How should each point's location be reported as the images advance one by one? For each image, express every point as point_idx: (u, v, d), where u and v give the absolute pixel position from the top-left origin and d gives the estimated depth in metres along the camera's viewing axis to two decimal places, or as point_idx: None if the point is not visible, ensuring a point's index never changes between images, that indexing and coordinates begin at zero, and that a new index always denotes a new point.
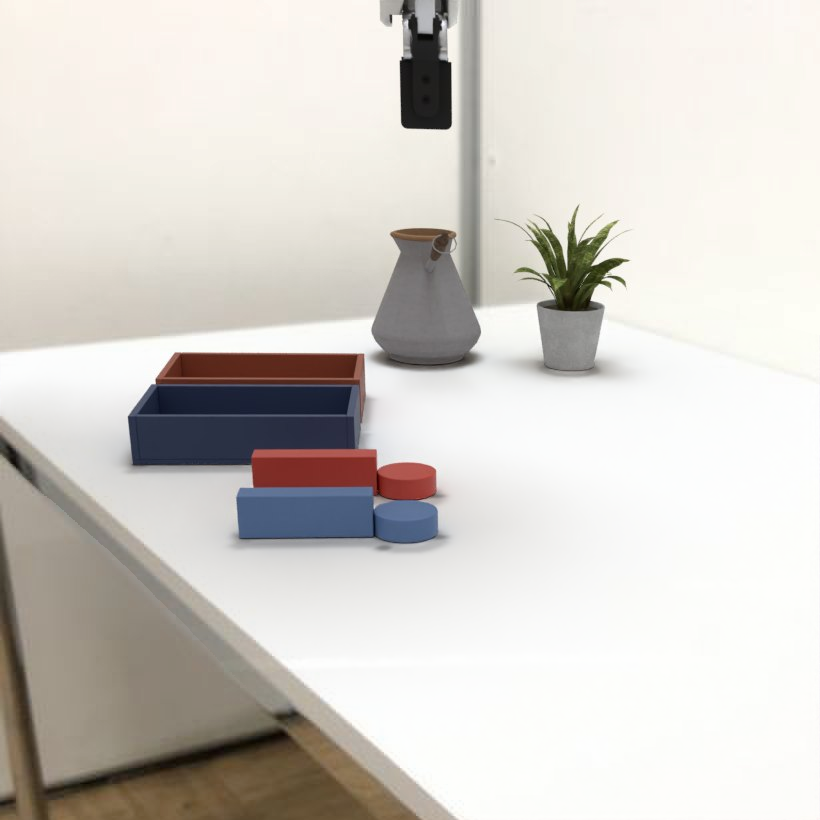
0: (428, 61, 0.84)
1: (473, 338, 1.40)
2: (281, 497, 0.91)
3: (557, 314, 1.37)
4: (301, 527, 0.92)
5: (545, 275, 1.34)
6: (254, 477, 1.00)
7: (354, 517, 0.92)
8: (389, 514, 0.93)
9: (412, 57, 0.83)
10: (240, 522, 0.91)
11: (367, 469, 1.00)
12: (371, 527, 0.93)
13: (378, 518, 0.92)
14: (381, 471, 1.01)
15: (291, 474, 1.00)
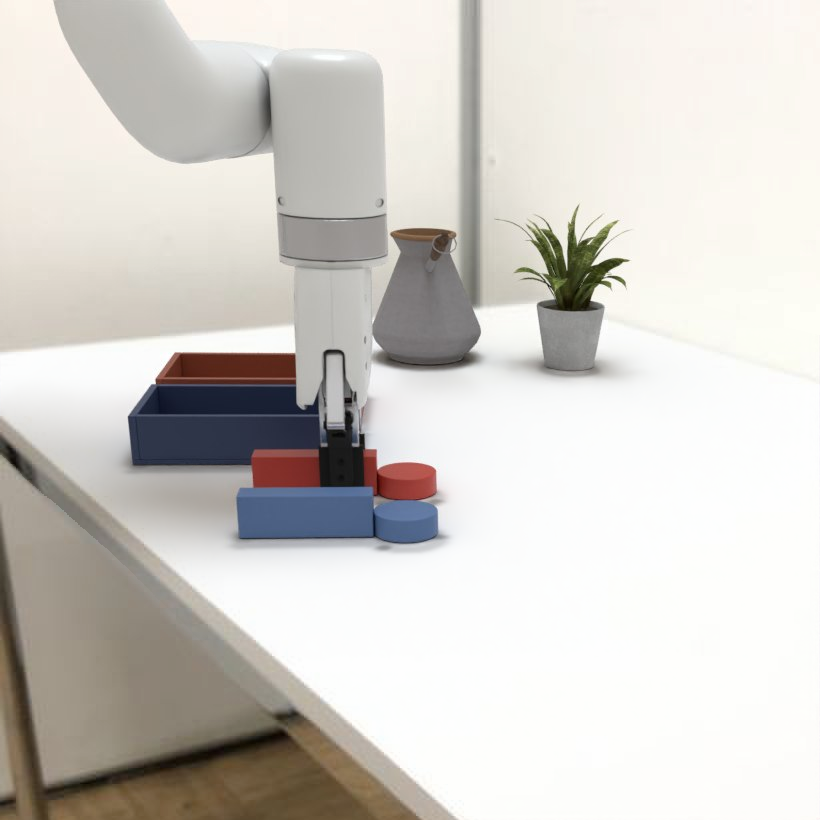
0: (342, 448, 0.98)
1: (473, 338, 1.40)
2: (281, 497, 0.91)
3: (557, 314, 1.37)
4: (301, 527, 0.92)
5: (545, 275, 1.34)
6: (254, 477, 1.00)
7: (354, 517, 0.92)
8: (389, 514, 0.93)
9: (328, 446, 0.98)
10: (240, 522, 0.91)
11: (367, 469, 1.00)
12: (371, 527, 0.93)
13: (378, 518, 0.92)
14: (381, 471, 1.01)
15: (291, 474, 1.00)
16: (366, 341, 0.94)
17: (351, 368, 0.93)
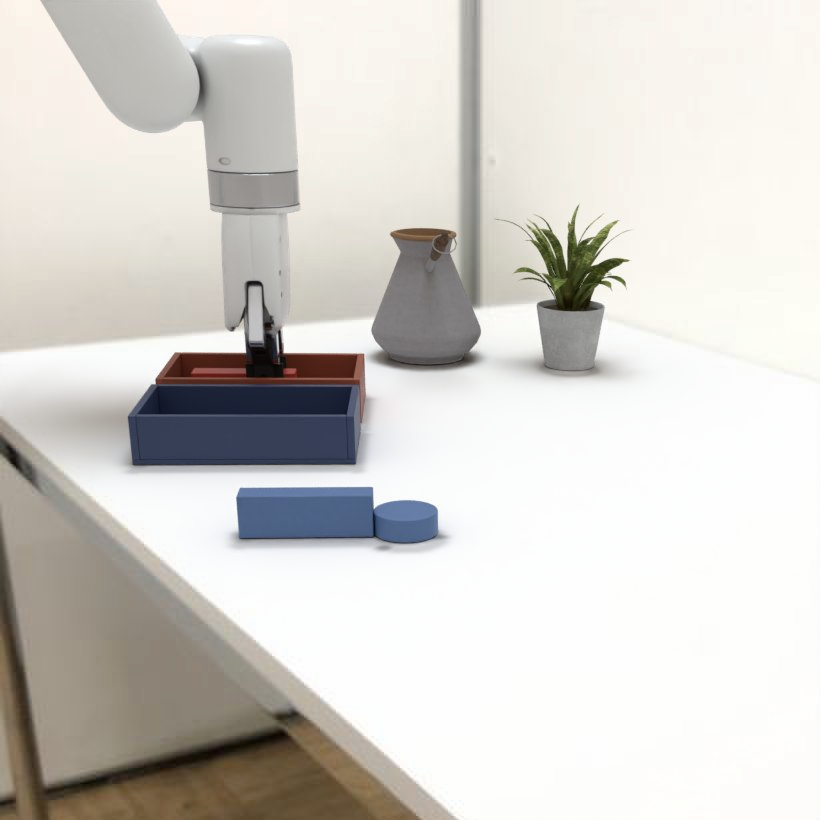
0: (265, 365, 1.19)
1: (473, 338, 1.40)
2: (281, 497, 0.91)
3: (557, 314, 1.37)
4: (301, 527, 0.92)
5: (545, 275, 1.34)
6: None
7: (354, 517, 0.92)
8: (389, 514, 0.93)
9: (253, 363, 1.19)
10: (240, 522, 0.91)
11: None
12: (371, 527, 0.93)
13: (378, 518, 0.92)
14: None
15: None
16: (281, 274, 1.15)
17: (268, 296, 1.14)
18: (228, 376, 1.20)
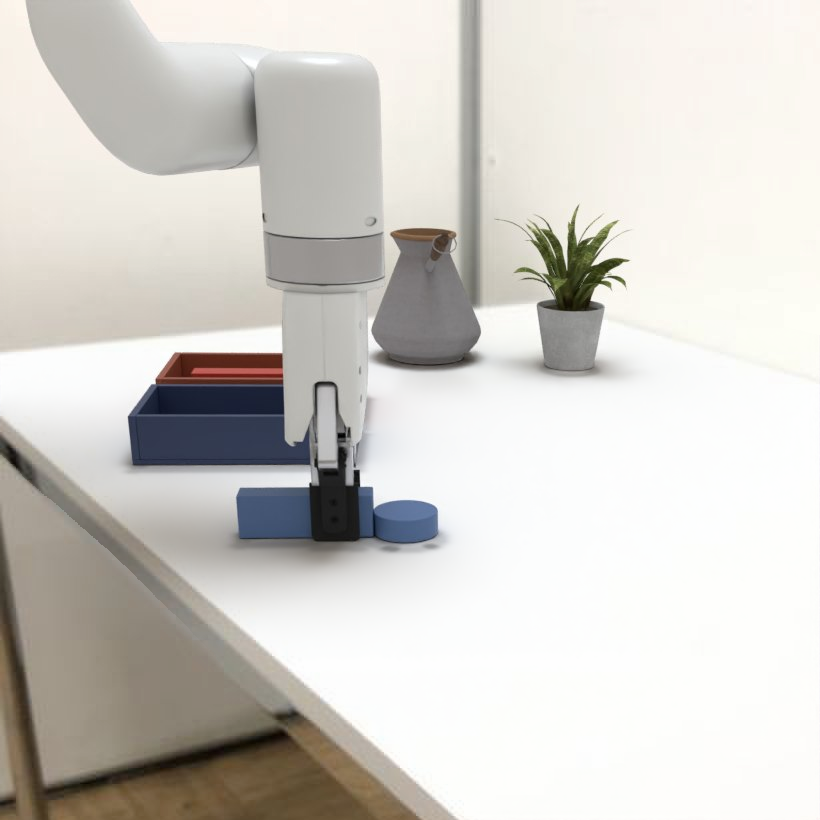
0: (335, 487, 0.90)
1: (473, 338, 1.40)
2: (281, 497, 0.91)
3: (557, 314, 1.37)
4: (301, 527, 0.92)
5: (545, 275, 1.34)
6: None
7: None
8: (389, 514, 0.93)
9: (320, 485, 0.90)
10: (240, 522, 0.91)
11: None
12: (371, 527, 0.93)
13: (378, 518, 0.92)
14: None
15: None
16: (361, 372, 0.86)
17: (344, 402, 0.85)
18: (228, 376, 1.20)
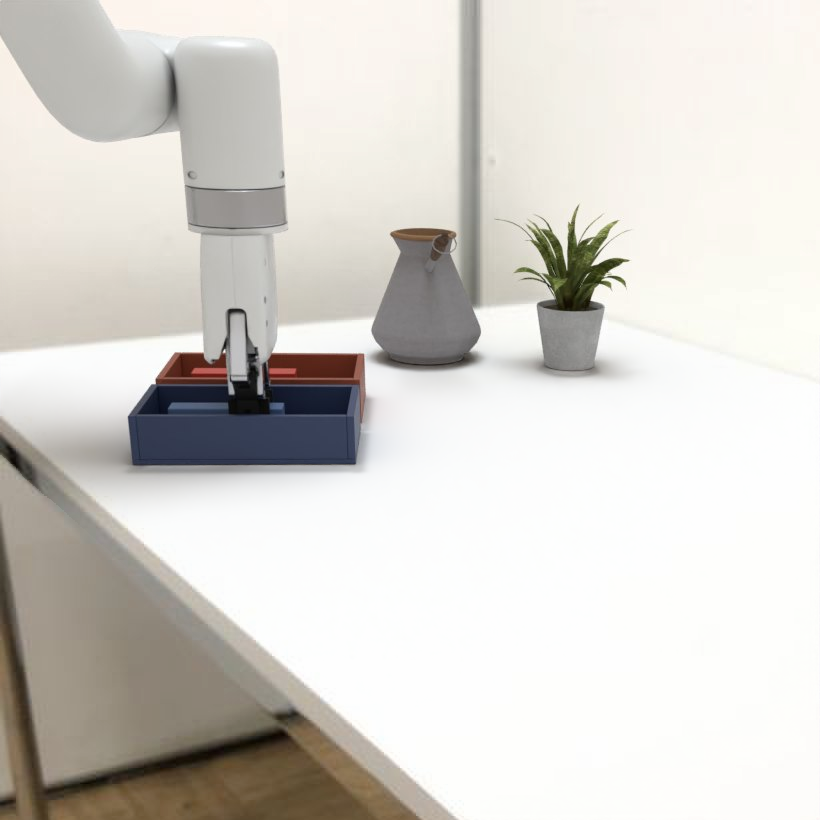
0: (249, 400, 1.08)
1: (473, 338, 1.40)
2: (205, 410, 1.09)
3: (557, 314, 1.37)
4: None
5: (545, 275, 1.34)
6: None
7: None
8: None
9: (236, 398, 1.08)
10: None
11: None
12: None
13: None
14: None
15: None
16: (266, 301, 1.04)
17: (252, 325, 1.03)
18: None
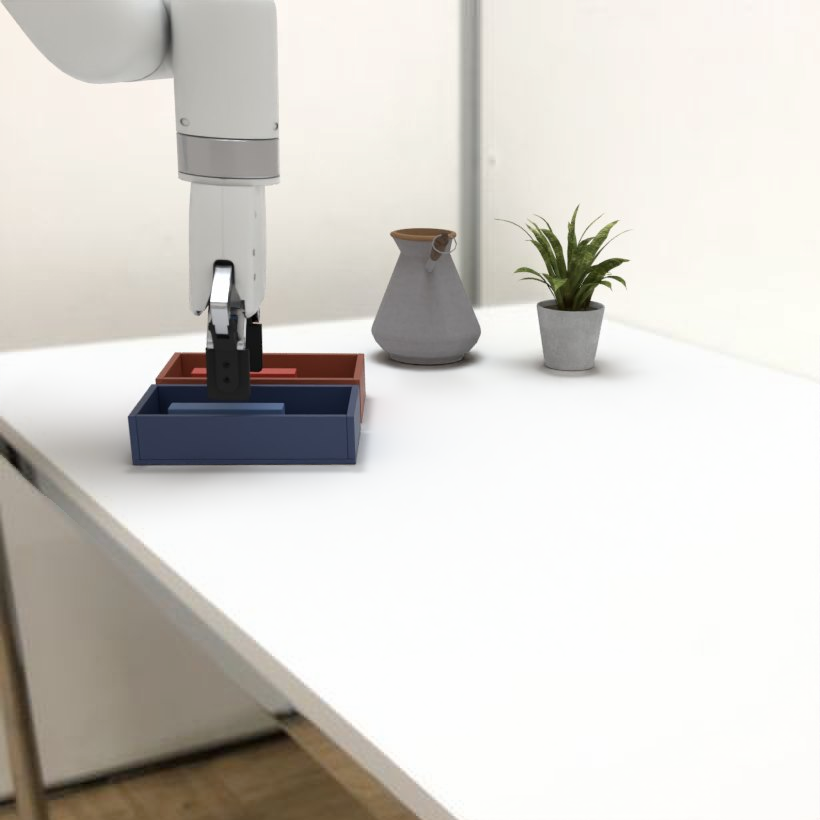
0: (228, 351, 1.03)
1: (473, 338, 1.40)
2: (206, 410, 1.09)
3: (557, 314, 1.37)
4: None
5: (545, 275, 1.34)
6: None
7: None
8: None
9: (214, 348, 1.03)
10: None
11: None
12: None
13: None
14: None
15: None
16: (255, 254, 1.02)
17: (240, 278, 1.02)
18: None
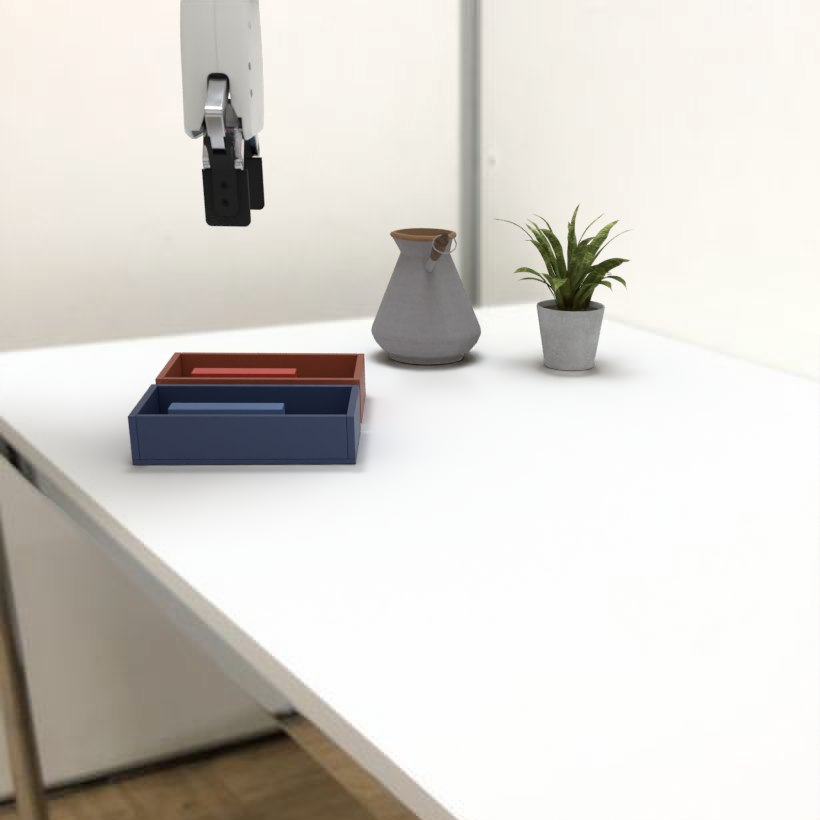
0: (225, 170, 0.98)
1: (473, 338, 1.40)
2: (206, 410, 1.09)
3: (557, 314, 1.37)
4: None
5: (545, 275, 1.34)
6: None
7: None
8: None
9: (211, 167, 0.97)
10: None
11: None
12: None
13: None
14: None
15: None
16: (251, 69, 0.97)
17: (236, 93, 0.97)
18: (228, 376, 1.20)
